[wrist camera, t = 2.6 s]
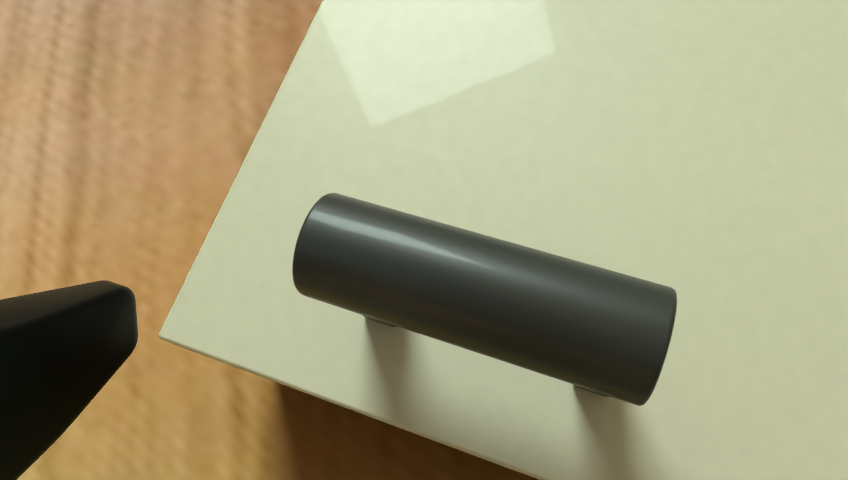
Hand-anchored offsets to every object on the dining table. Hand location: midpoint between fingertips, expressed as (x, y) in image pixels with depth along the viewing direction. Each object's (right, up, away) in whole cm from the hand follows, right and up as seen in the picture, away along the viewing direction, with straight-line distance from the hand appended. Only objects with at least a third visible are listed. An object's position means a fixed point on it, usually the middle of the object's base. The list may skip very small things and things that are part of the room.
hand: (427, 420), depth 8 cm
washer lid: (+3, +4, +6) cm, 7 cm away
